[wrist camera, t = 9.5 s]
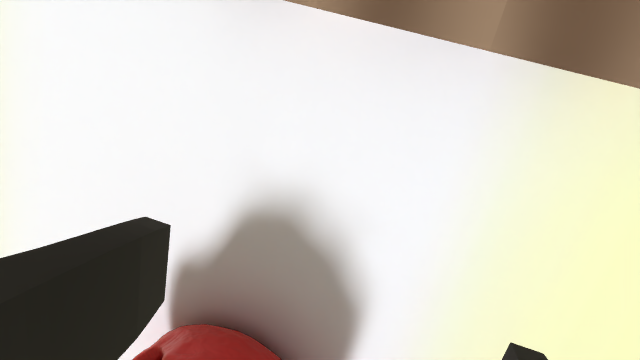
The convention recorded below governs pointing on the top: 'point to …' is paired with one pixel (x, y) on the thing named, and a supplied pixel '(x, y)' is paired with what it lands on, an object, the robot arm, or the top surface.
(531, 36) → the housing
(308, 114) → the top surface
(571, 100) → the top surface
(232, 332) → the pomegranate
